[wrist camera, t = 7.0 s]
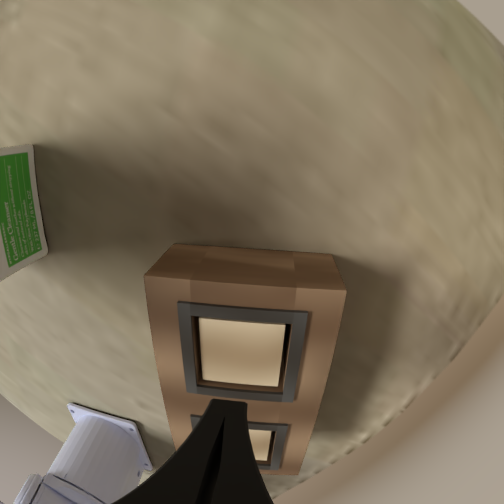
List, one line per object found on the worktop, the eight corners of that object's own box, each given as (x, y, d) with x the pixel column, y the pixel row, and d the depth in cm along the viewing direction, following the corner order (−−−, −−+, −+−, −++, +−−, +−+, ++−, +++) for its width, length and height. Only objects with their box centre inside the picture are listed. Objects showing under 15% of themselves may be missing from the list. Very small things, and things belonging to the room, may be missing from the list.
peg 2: (269, 418, 22) (266, 460, 18) (219, 413, 22) (210, 454, 18) (273, 384, 21) (271, 429, 17) (217, 379, 21) (206, 423, 17)
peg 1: (278, 340, 19) (277, 386, 15) (216, 335, 19) (202, 379, 16) (284, 284, 18) (285, 325, 14) (215, 279, 18) (198, 317, 14)
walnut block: (297, 432, 23) (298, 477, 18) (191, 422, 23) (178, 465, 19) (331, 253, 17) (347, 292, 13) (173, 243, 18) (142, 277, 13)
